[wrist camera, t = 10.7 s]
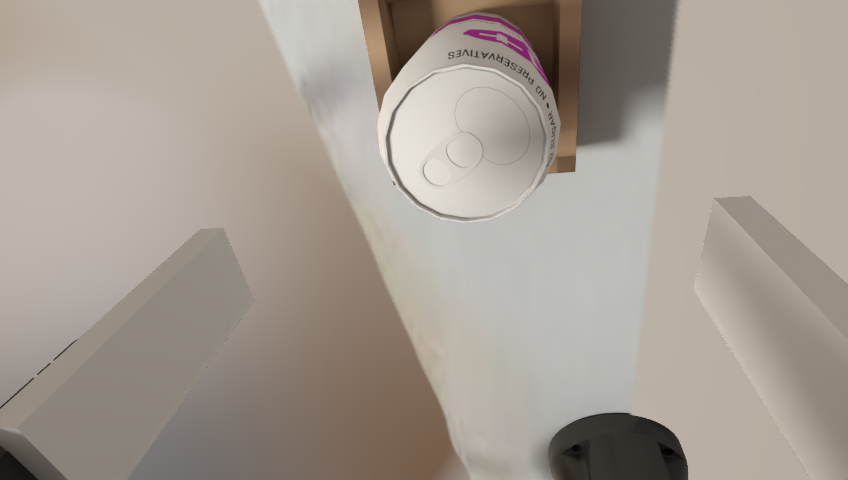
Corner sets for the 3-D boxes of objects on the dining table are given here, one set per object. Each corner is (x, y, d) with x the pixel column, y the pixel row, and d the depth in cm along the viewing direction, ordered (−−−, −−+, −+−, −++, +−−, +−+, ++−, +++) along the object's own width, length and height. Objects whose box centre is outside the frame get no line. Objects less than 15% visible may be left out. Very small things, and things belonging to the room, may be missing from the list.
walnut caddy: (566, 148, 34) (575, 171, 30) (404, 162, 36) (393, 185, 33) (572, -50, 27) (584, -52, 23) (372, -17, 30) (355, -14, 26)
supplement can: (484, -20, 28) (476, -6, 15) (559, 80, 30) (605, 163, 18) (396, 69, 31) (331, 140, 19) (470, 152, 34) (455, 262, 22)
